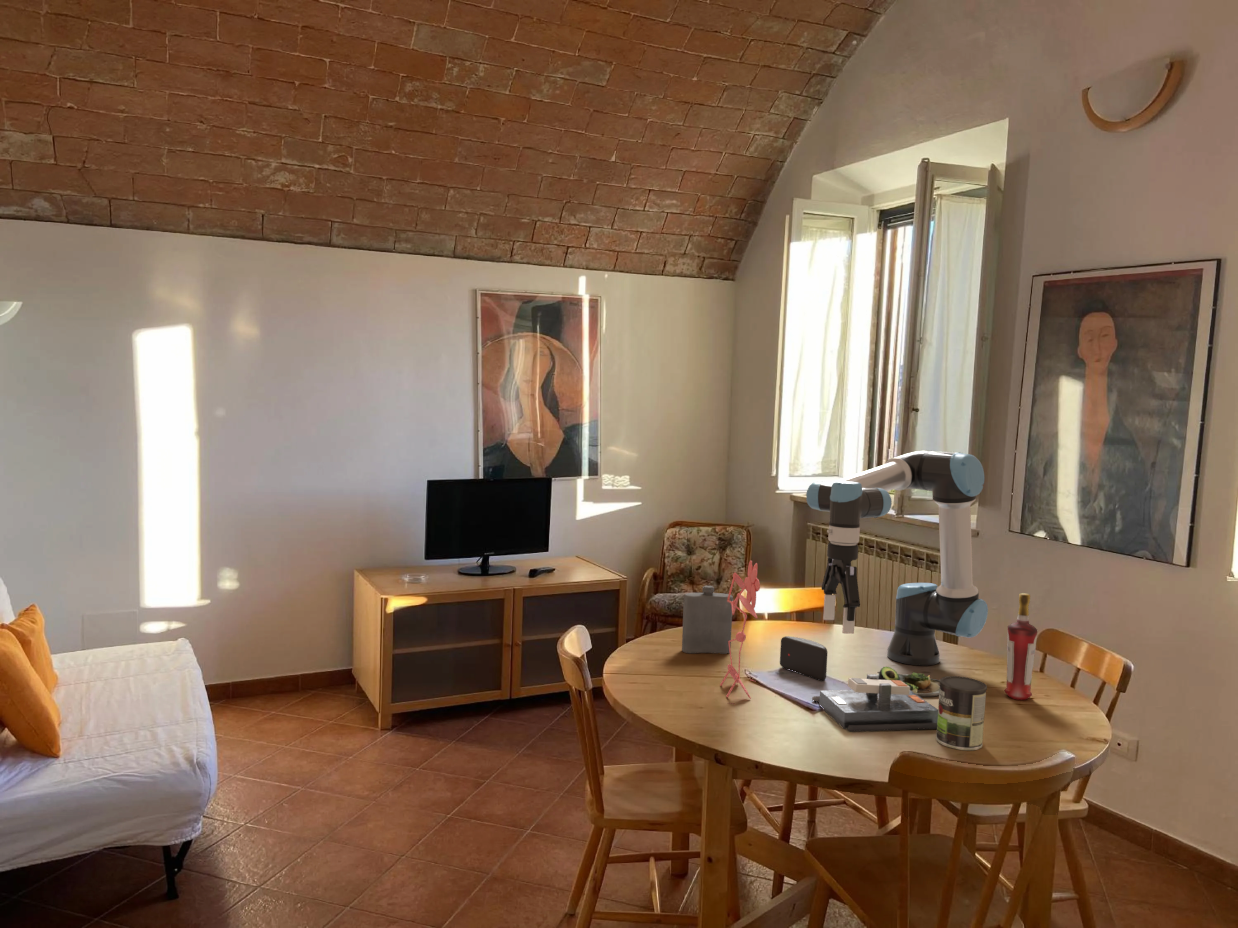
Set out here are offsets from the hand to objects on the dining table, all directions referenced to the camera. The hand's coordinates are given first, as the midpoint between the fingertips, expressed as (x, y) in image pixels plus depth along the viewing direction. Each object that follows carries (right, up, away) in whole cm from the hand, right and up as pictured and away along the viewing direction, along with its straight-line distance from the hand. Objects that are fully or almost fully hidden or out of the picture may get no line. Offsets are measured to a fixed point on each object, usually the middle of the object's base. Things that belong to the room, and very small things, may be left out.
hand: (838, 626), depth 233 cm
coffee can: (+23, -24, -19) cm, 39 cm away
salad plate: (+23, -21, +20) cm, 37 cm away
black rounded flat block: (-3, -19, +29) cm, 35 cm away
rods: (+8, -22, -3) cm, 23 cm away
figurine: (-21, -20, +12) cm, 31 cm away
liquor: (+52, -22, +14) cm, 58 cm away
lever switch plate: (+9, -22, -4) cm, 24 cm away
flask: (-29, -16, +49) cm, 59 cm away
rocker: (+9, -14, -4) cm, 17 cm away
